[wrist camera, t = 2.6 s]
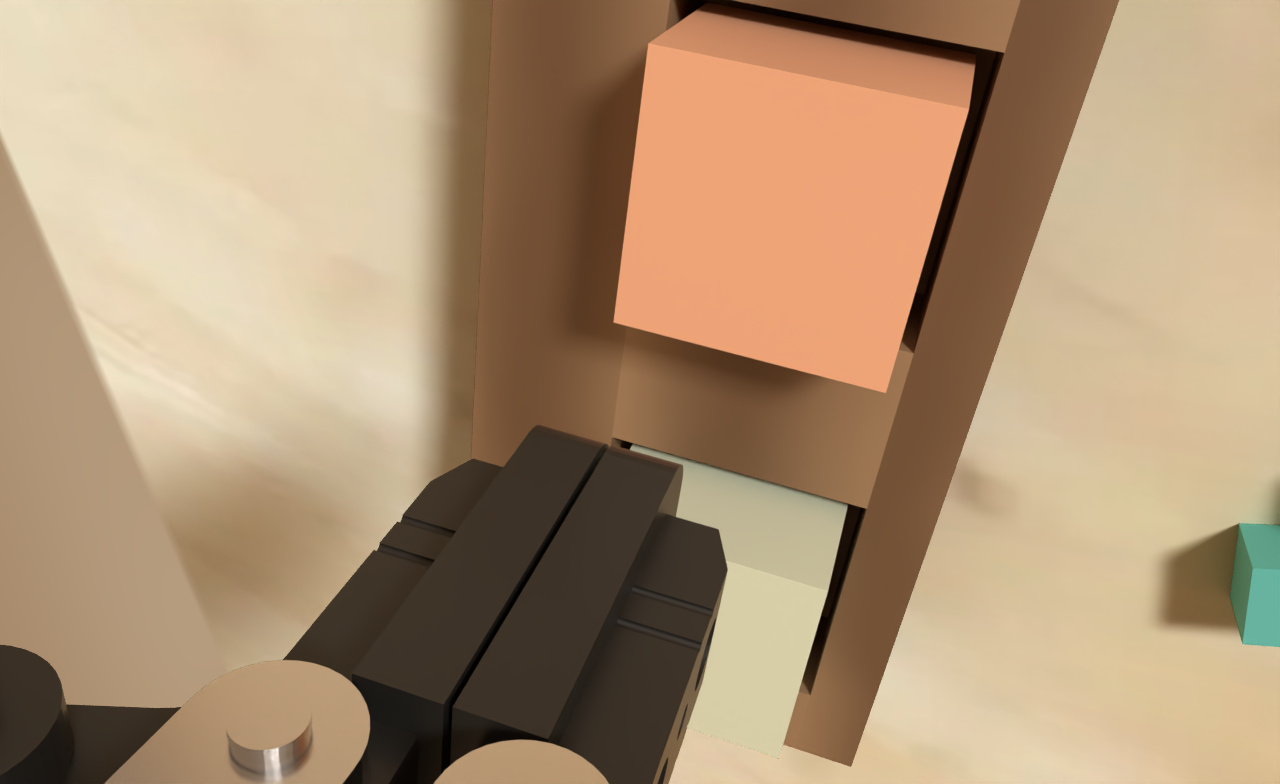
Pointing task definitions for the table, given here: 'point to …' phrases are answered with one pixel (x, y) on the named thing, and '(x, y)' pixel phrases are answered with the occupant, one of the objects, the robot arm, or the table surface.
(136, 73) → the table surface
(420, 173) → the table surface
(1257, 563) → the alien figure
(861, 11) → the button panel
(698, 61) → the terracotta button
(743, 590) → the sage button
